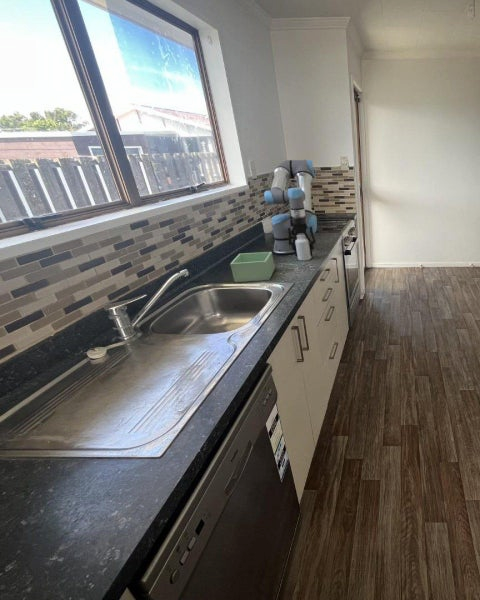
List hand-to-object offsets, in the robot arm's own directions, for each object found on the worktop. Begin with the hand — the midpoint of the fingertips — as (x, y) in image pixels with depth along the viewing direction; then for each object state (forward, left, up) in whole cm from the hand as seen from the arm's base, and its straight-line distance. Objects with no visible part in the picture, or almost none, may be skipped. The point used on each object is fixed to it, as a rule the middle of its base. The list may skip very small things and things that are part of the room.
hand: (304, 255), depth 195 cm
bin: (+23, -23, -2) cm, 33 cm away
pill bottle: (0, 0, -2) cm, 2 cm away
